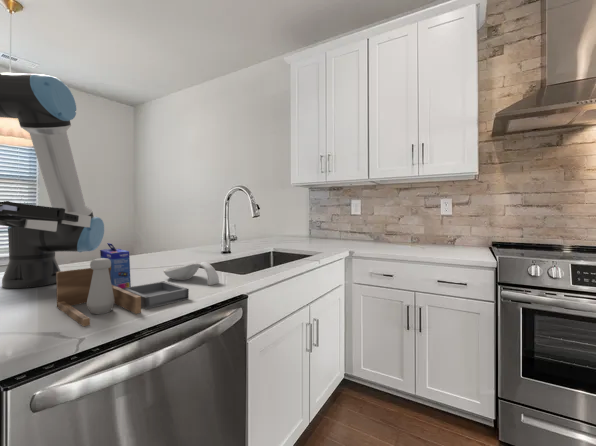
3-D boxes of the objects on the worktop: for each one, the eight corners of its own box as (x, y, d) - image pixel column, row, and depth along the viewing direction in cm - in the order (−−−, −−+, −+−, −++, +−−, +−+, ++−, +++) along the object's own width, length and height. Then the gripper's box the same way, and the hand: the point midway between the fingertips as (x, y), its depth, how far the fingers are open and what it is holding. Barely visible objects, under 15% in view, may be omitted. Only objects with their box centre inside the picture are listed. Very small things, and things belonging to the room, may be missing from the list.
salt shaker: (84, 316, 72) (83, 261, 72) (89, 309, 77) (88, 257, 77) (113, 313, 74) (112, 259, 74) (116, 306, 80) (115, 256, 79)
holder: (56, 307, 79) (56, 271, 78) (108, 297, 88) (108, 265, 88) (83, 326, 66) (82, 284, 66) (140, 312, 75) (140, 276, 75)
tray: (122, 298, 87) (122, 288, 87) (163, 290, 96) (163, 281, 96) (145, 309, 78) (145, 297, 78) (188, 299, 88) (188, 288, 87)
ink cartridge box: (99, 287, 99) (99, 242, 98) (118, 284, 103) (118, 241, 102) (111, 293, 92) (111, 244, 92) (131, 289, 97) (131, 243, 96)
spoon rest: (156, 279, 113) (156, 259, 112) (183, 274, 123) (183, 256, 122) (201, 288, 100) (201, 266, 100) (227, 282, 110) (227, 262, 110)
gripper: (-79, 229, 63) (41, 242, 82) (-18, 218, 53) (103, 235, 72) (-71, 194, 65) (45, 214, 84) (-10, 177, 55) (106, 204, 74)
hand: (72, 224), depth 78 cm, fingers open, 13 cm apart
